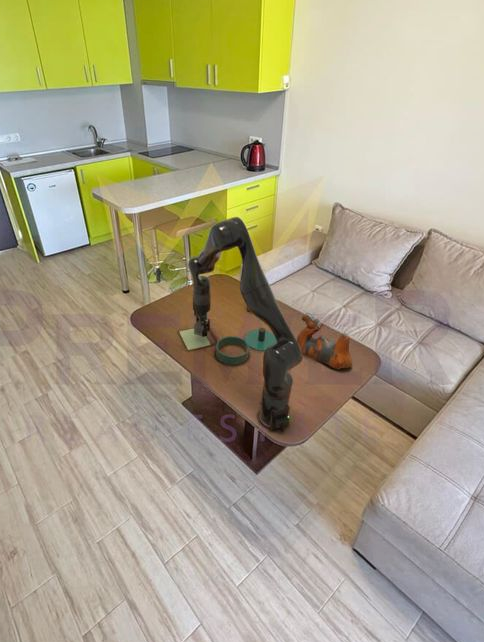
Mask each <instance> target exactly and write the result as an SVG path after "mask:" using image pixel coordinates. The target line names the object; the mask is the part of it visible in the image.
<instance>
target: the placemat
mask: <svg viewBox="0 0 484 642" xmlns="http://www.w3.org/2000/svg"><path fill="white" fill-rule="evenodd" d="M178 332H179V335H180V338H181V339H182V341H183V343H184V345H185V347H186V349H187V351H192V350H197V349H202V348H205V347H209V346H212V344H211V342H210V340H209V338H208V337H207V336H205V337H201V336H199V335H196V334H194V327H193V328H189V329H185V330H180V331H178Z"/></svg>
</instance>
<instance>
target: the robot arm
mask: <svg viewBox="0 0 484 642" xmlns="http://www.w3.org/2000/svg"><path fill="white" fill-rule="evenodd" d="M235 248H238V250H239V253H240V257H241V262H242V263H241V273H240V274H241V275H240V279H239V280H240V281H239V282H240V283H239V292H240V294H241V296H242V299H243V301H244V304H245V306H246V308H247V307H248V309H249V310H250V311H251V312H250V311H249V312H250V313H251V314H253V316H255V317H256V318H258V319H259V321H261V322H262V323H264V324H265V325H266V326H267V327H268V328H269V330H270V332H271V333H273V334H274V336H275V338H276V340H277V343H275V344H273V345H271V346H270V347H268V348H267V349H266V350H265V351H263V355H262V377H263V384H262V392H261V399H260V400H261V401H260V403H259V404H260V408H259V415H258V418H259V421H260V423H261V424H262V425H263V426H265V428H269V430H270V431H274V430H277V429H280V432H284V431H285V427H286V426H287V425H289V423H290V416H289V414H290V408H291V407H290V399H291V393H292V387H293V381H294V379H293V376H292V374H291V373H290V372H289V371H291V370H292V369H294V368H296V367H298V365H300V364H301V363H302V361H303V355H302V351H301V348H300V346H299V344H298V342H297V337H296V336H295V335H294V333H293V331H292V330H291V328H290V326H289V324H288V323H287V321H286V319H285V316H284V315H283V312H282V310H281V308H280V306H279V304H278V302H277V300H276V297H275V294H274V292H273V289H272V287H271V285H270V283H269V281H268V279H267V276H266V275H265V273H264V270H263V268H262V265H261V263H260V261H259V258H258V256H257V253H256V250H255V247H254V244H253V241H252V239H251V236H250V232H249V230H248V228H247V226H246V224H245V222H244V221H243V219H241V217H239V216H234V217H230V218H227V219H224V220H221V221H219V222H216V223H214V224H213V225H212V226H211V227H210V230H209V232H208V235H207V238H206V242H205V245H204V247H203V248H202V249H201V250H200V252H199V254H198V255H197V256H194V257H191V258H190V259H188V263H187V267H188V271H189V273H190V277H191V279H192V289H193V290H192V310H193V316H194V317H195V323H196V322H197V321H198V320H199V322H200V325H201V327H202V336H203V337H205V336H206V337H207V336H208V333H207V331H209V332H210V330H211V329H210V327H211V326H210V325H211V324H210V323H211V320H210V318H208V313H209V312H210V311H211V297H212V296H211V280H210V278H209V276H206V275H204V274H210V273H212V272H214V270H216V269H215V268H216V264H217V262H219V260H220V258H221V256H222V252H226V251H229V250H232V249H235ZM202 322H203V323H202Z"/></svg>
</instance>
